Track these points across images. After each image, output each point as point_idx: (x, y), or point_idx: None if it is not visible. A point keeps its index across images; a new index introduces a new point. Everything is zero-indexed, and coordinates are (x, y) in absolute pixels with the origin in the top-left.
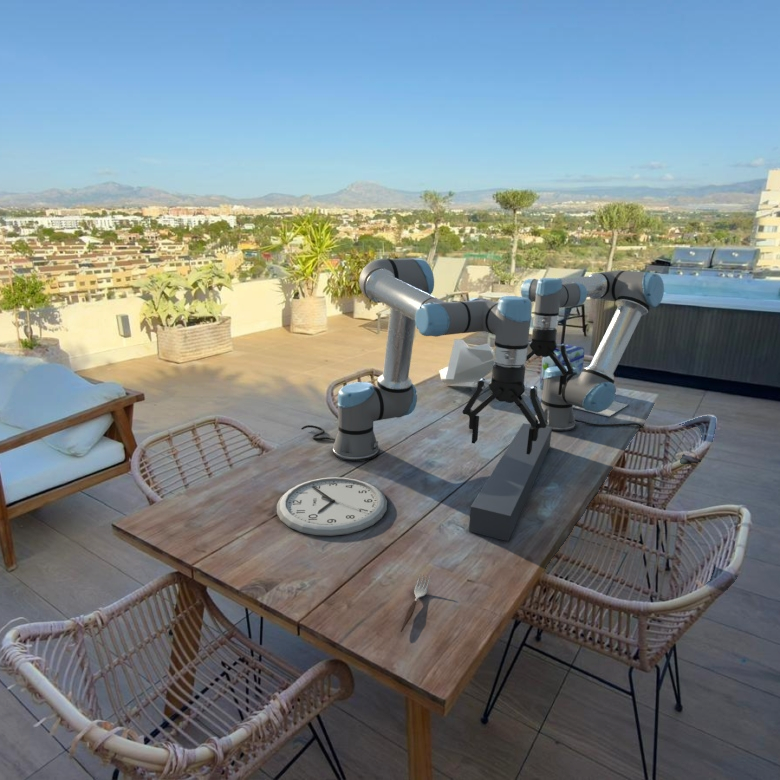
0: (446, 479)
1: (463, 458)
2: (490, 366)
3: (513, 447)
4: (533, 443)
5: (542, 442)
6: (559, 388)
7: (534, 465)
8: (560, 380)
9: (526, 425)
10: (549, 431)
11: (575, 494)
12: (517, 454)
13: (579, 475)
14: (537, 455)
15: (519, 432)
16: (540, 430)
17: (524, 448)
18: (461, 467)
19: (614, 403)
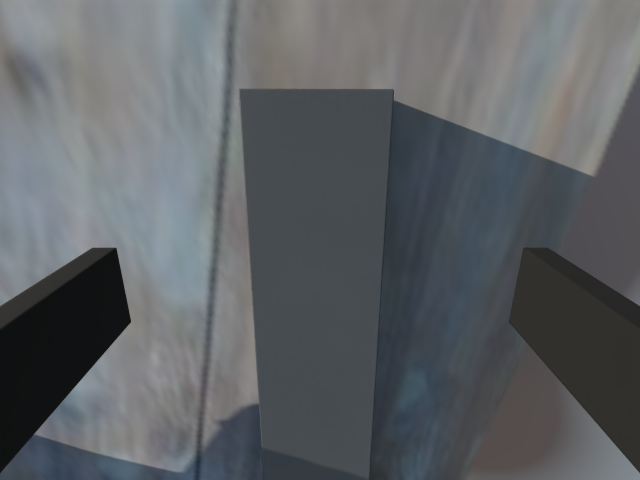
0: (151, 462)
1: (127, 338)
2: None
3: (276, 386)
4: (338, 321)
5: (370, 296)
6: (550, 362)
7: (369, 473)
8: (623, 441)
9: (263, 116)
10: (386, 150)
11: (471, 407)
12: (304, 429)
13: (487, 299)
14: (368, 411)
15: (256, 231)
16: (342, 158)
17: (315, 378)
18: (151, 392)
19: None
